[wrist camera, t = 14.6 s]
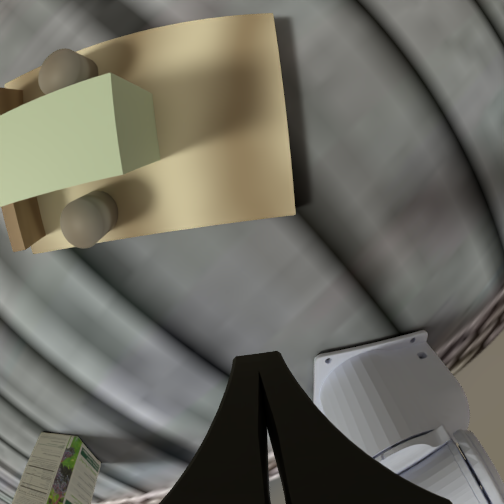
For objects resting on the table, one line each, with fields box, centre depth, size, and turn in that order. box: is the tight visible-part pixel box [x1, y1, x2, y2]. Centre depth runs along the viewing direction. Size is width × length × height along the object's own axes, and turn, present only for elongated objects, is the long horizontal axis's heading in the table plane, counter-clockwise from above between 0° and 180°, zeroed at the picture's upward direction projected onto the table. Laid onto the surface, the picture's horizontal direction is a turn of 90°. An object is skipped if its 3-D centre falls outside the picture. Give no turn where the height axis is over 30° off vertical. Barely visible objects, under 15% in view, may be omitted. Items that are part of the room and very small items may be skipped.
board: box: [0, 13, 296, 254], centre depth 14 cm, size 16×11×4 cm
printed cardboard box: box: [12, 432, 101, 504], centre depth 18 cm, size 6×6×14 cm
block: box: [0, 72, 161, 207], centre depth 11 cm, size 8×4×6 cm, turn 96°
